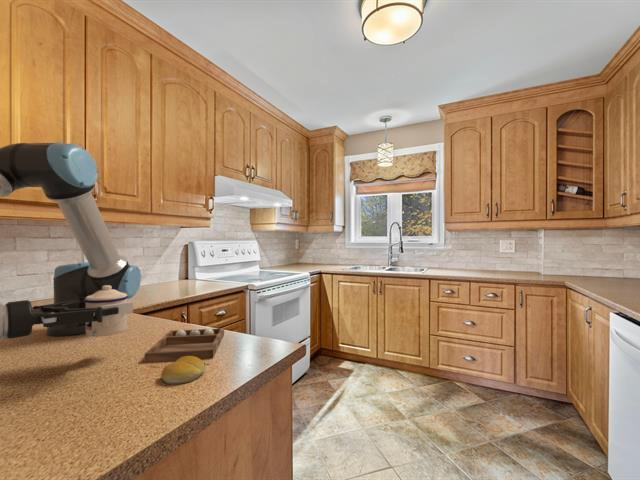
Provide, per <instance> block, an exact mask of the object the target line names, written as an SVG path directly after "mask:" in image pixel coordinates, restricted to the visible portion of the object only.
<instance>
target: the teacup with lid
mask: <svg viewBox="0 0 640 480" xmlns="http://www.w3.org/2000/svg"><path fill="white" fill-rule="evenodd" d="M111 288H112V287H111V286H110V285H106V286H103V287H102V290H100V291H97V292H96V293H94V294H92V295H90V296H87V297H86V298H85V300H84V301H85V302H86V308H98V307H101V306H105V305H112V304H119V303H127V302H128V299H127V298H128V296H127V294H126V293H122V292H119V291H117V290H114V289H111ZM94 316H95V313H94ZM127 329H128V314H125V315H119V316H113V317H107V318H102V322H99V323H98V321H93V322H86V333H85V335H86V336H88V337H94V338H95V337H96V338H97V337H108V336H113V335H118V334H120V333H123V332H125V331H126V330H127Z"/></svg>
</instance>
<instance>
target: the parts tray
mask: <svg viewBox="0 0 640 480" xmlns="http://www.w3.org/2000/svg"><path fill="white" fill-rule="evenodd" d="M196 329H197V328H196ZM206 329H207V328H199V329H197V330H199V331H200V335H190V332H191V331H192V330H193V329H183V330H184V331H185V332H186V336H175V334H176V332H177V331H179V330H180V329H178V330H169V331H168V332H167V333H166V334H165V335H164V336H163V337H162V338H160V339H159V340H158V341H157V342H156V343H155V344H154V345H153V346H151V347H150V349H148V350H147V351H146V352H145V353H144V363H155V362H156V363H157V362H173V361H174V362H175V361H176V360H178V359H179V358H181V357H184V356H194V357H197V358H199V359H200V360H205V359H214V358H215V356H216V354H217V352H218V349H219V347H220V345H221V343H222V340H223V338H224V336H225V328H224V327H221V328H211V329H212V330H213V331H214V334H210V335H204V331H205V330H206Z"/></svg>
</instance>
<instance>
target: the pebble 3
mask: <svg viewBox="0 0 640 480" xmlns="http://www.w3.org/2000/svg"><path fill="white" fill-rule="evenodd" d="M205 329H206V330H205V331H204V335H210V334H214V331H213V330H212V329H213V328H205Z"/></svg>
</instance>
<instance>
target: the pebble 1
mask: <svg viewBox="0 0 640 480" xmlns="http://www.w3.org/2000/svg"><path fill="white" fill-rule="evenodd" d="M178 330H179V331H177V332H176V334H175V336H186V332H185V331H184V330H185V329H178Z"/></svg>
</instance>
